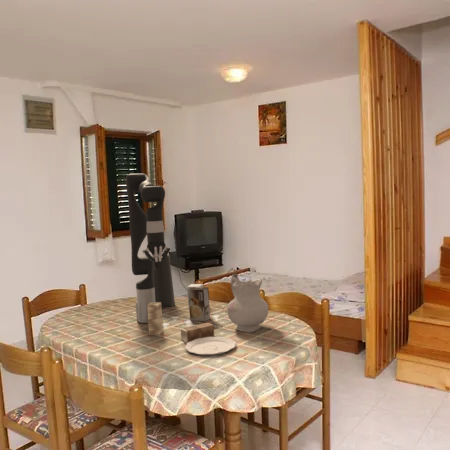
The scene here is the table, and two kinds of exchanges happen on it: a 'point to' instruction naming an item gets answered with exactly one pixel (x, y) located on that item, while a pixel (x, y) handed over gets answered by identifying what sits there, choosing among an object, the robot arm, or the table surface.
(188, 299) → the supplement box
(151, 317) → the birch block
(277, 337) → the table surface
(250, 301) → the ceramic pitcher
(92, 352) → the table surface
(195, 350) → the plate
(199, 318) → the coffee box
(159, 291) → the vase
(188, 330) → the walnut block
